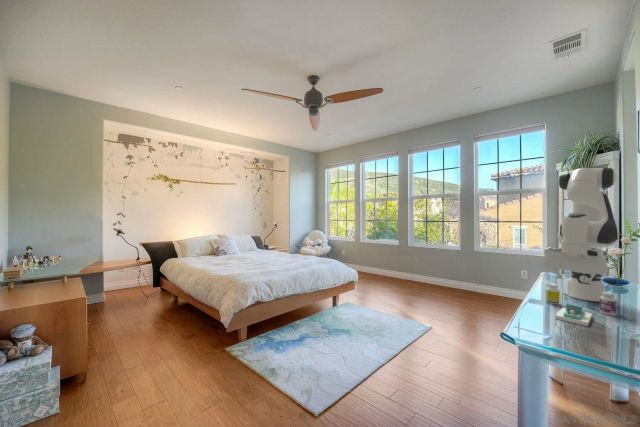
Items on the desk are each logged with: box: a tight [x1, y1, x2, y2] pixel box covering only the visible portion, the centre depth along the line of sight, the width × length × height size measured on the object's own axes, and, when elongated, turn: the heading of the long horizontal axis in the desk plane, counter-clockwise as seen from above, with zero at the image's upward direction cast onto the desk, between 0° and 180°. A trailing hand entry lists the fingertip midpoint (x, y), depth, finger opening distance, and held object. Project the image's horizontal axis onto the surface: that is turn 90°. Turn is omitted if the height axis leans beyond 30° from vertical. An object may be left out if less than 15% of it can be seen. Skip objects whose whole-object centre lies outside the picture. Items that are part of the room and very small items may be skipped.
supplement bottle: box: [545, 282, 561, 305], centre depth 138 cm, size 5×5×10 cm
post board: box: [555, 303, 593, 327], centre depth 118 cm, size 16×10×5 cm, turn 129°
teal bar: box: [564, 302, 585, 320], centre depth 118 cm, size 14×5×4 cm, turn 129°
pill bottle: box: [598, 291, 617, 317], centre depth 124 cm, size 5×5×10 cm
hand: (573, 280), depth 119 cm, fingers open, 8 cm apart
